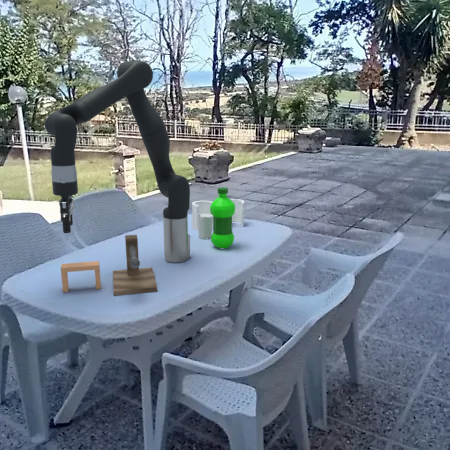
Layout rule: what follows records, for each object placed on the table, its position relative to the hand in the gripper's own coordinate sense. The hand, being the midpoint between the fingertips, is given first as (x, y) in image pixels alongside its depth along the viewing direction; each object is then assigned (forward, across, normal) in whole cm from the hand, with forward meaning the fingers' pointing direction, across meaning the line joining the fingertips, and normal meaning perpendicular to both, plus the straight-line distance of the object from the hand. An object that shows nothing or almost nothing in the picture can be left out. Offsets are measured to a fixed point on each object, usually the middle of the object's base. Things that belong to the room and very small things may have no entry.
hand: (68, 228), depth 153 cm
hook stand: (+20, +2, +20) cm, 29 cm away
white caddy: (+20, -61, +62) cm, 89 cm away
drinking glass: (+20, -45, +53) cm, 73 cm away
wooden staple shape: (+21, 0, +3) cm, 21 cm away
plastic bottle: (+20, -31, +58) cm, 69 cm away
